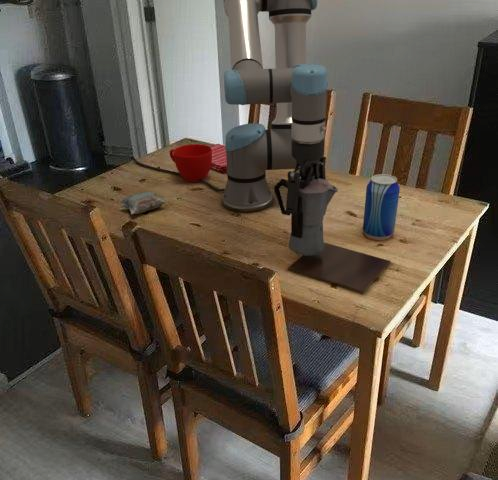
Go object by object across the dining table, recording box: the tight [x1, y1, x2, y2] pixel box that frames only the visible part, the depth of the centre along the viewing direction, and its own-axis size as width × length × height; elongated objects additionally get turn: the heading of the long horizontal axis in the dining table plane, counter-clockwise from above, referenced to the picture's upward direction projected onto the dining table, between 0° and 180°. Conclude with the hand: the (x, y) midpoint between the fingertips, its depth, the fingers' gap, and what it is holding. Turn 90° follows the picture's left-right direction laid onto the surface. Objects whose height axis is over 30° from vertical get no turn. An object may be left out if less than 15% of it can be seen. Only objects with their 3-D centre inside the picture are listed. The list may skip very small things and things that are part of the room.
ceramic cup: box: [169, 143, 212, 183], centre depth 185 cm, size 13×17×10 cm
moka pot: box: [273, 173, 339, 256], centre depth 132 cm, size 10×15×20 cm, turn 78°
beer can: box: [362, 173, 401, 241], centre depth 143 cm, size 8×8×16 cm
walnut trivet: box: [287, 242, 391, 295], centre depth 134 cm, size 20×16×1 cm
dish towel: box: [208, 143, 227, 174], centre depth 200 cm, size 17×24×3 cm
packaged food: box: [119, 190, 168, 216], centre depth 165 cm, size 9×12×5 cm
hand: (305, 229), depth 134 cm, fingers closed on moka pot, 8 cm apart
